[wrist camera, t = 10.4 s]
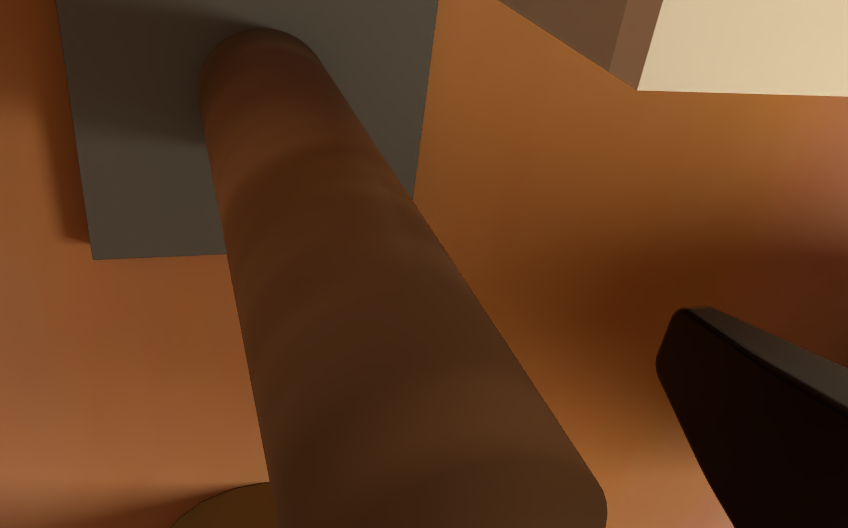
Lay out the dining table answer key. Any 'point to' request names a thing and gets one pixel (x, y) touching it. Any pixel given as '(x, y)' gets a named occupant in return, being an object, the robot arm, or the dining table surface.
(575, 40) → the guard
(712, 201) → the dining table surface
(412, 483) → the cylinder
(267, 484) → the cork
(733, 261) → the dining table surface
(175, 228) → the pad
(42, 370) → the dining table surface
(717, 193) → the dining table surface
